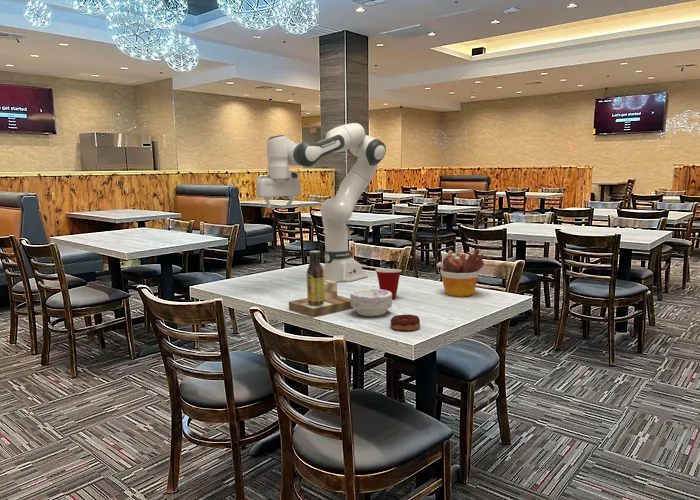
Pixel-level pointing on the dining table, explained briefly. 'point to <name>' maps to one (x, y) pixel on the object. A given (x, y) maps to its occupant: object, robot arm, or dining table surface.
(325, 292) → the birch cube
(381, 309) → the paper bowls
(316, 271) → the sauce bottle
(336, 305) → the walnut board
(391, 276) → the plastic cup
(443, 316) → the dining table surface
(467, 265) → the bucket of meat
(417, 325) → the donut
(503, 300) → the dining table surface
